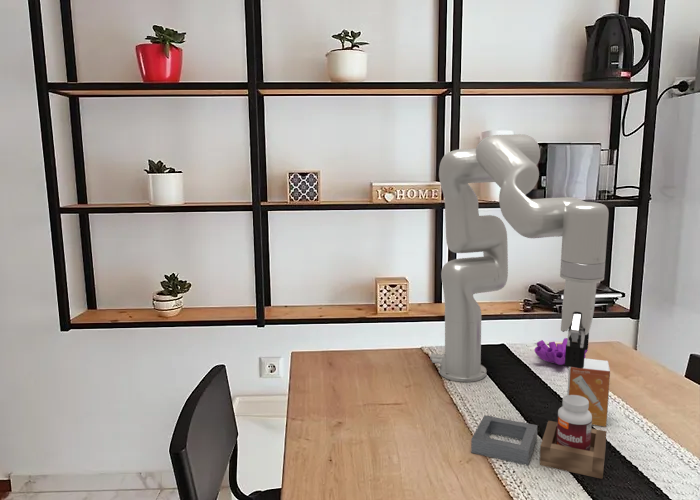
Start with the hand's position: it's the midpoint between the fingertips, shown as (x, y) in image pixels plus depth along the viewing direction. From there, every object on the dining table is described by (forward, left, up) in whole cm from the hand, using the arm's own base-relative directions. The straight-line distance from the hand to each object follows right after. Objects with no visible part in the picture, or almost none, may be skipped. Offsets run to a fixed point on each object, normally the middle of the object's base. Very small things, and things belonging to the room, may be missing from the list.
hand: (576, 357), depth 106 cm
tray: (0, 0, -21) cm, 21 cm away
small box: (+1, +18, -21) cm, 27 cm away
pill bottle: (0, 0, -20) cm, 20 cm away
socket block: (-13, -1, -21) cm, 24 cm away
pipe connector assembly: (-8, +49, -21) cm, 53 cm away
